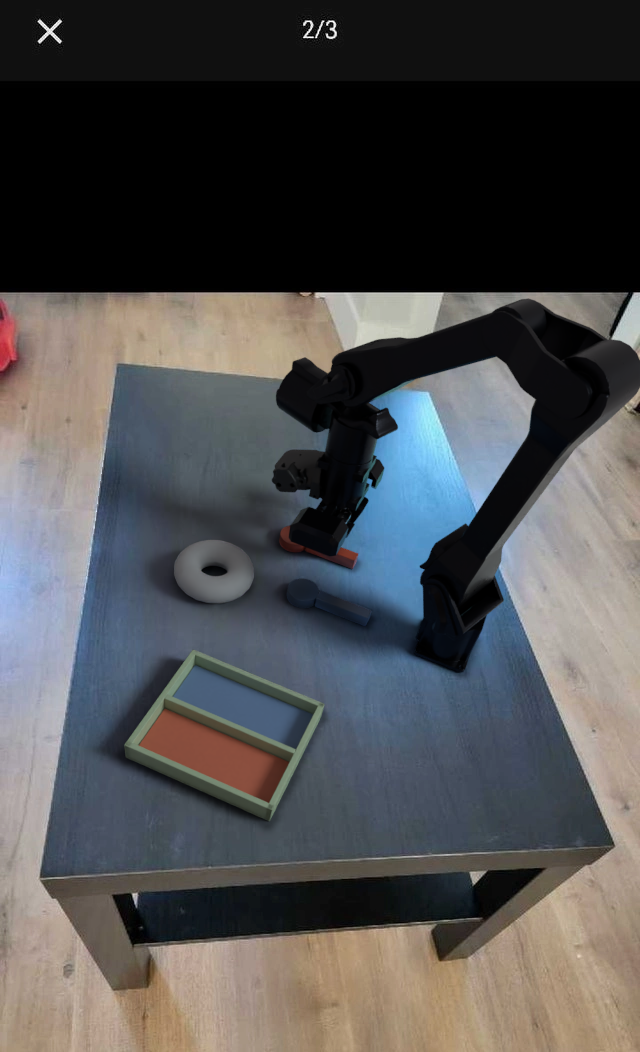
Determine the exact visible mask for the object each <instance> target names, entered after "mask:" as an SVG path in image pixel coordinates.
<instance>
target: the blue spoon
mask: <svg viewBox="0 0 640 1052" xmlns="http://www.w3.org/2000/svg"><path fill="white" fill-rule="evenodd" d="M287 585H288V586H287V590H286V599H287V601H288V603H289V604H290V605H292V606H293V607H296V608H299V609H309V608H312V607H315V608H317V609H320V610H323V611H325V612H328V613H330V614H333V615H335V616H337V617H341V618H343V619H345V620H348V621H351V622H353V623H356V624H358V625H361V626H363V627H366V626H367V624H368V623H369V621H370V618H371V615H372V609H369V608H367V607H364V606H362V605H359V604H358V603H354V602H352V601H349V600H347V599H344V598H341V597H338V596H336V595H334V594H331V593H329V592H326V591H323V590H320V589H319V586H318V584H317V583H316V582H314V581H312V580H311V579H308V578H302V577H301V578H295V579H293V580H291V581H290V582H289V583H288V584H287Z"/></svg>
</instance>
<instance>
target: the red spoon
mask: <svg viewBox="0 0 640 1052" xmlns="http://www.w3.org/2000/svg"><path fill="white" fill-rule="evenodd" d="M289 530H290V525H287V526H284V527H283V528H281V530H280V533H279V540H278V541H279V545H280V546H281V548H282V549H283V550H285V551H288V552H290V553H301V552H303V551H305V552H306V553H309V554H312V555H314V556H316V557H320V558H323V559H325V560H327V561H330V562H333V563H335V564H338V565H341V566H343V567H346V568H348V569H351V570H353V569H354V567H355V566H356V565H357V561H358V558H359V553H358V552H355V551H353V550H350V549H347V548H344V547H342V546H341V548H340V550H339V551H338V553H337V555H336V556H327V555H325V554H322V553H319V552H317V551H314V550H312V549H309V548H306V547H304V546H301V545H299V544H296V543H293V542H291V541H290V539H289Z"/></svg>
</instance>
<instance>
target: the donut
mask: <svg viewBox="0 0 640 1052" xmlns="http://www.w3.org/2000/svg"><path fill="white" fill-rule="evenodd" d="M206 567H219V568H222V569H224V570H225V571H226V573H224V574H222V575H210V574H207V573H204V572H203V571H202V570H203V569H205V568H206ZM173 568H174V570H173V575H174V578H175V581H176V583H177V586H178V587H179V588H180V589H181V590H182V592H183V593H185V595H187V596H189V597H191V598H193V599H194V600H196V601H199V602H203V603H207V604H224V603H225V604H226V603H229V602H233V601H235V600H237V599H239V598H241V597H243V595H244V594H245V593H247V592H248V591H249V589H250V588H251V586H252V583H253V581H254V578H255V567H254V564H253V562H252V560H251V558H250V556H249V554H248V553H246V552H245V550H243V549H242V548H241V547H239V546H237V545H235V544H233V543H232V542H228V541H224V540H220V539H206V540H200V541H196V542H194V543H192V544H189V545H187V546H186V547H185V548H183V550H181V551H180V552H179V554H178V556H177V558H176V559H175V561H174V566H173Z"/></svg>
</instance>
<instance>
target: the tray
mask: <svg viewBox="0 0 640 1052" xmlns="http://www.w3.org/2000/svg"><path fill="white" fill-rule="evenodd" d="M324 708H325V703H324V702H321V701H319V700H316V699H314V698H311V697H309V696H306V695H305V694H302V693H299V692H297V691H295V690H292V689H289V688H288V687H285V686H283V685H280V684H278V683H275V682H272V681H270V680H268V679H265V678H263V677H260V676H258V675H256V674H253V673H251V672H249V671H246V670H244V669H242V668H239V667H237V666H234V665H232V664H231V663H230V664H229V663H227V662H224V661H222V660H220V659H217V658H215V657H214V656H213V657H212V656H211V655H208V654H206V653H204V652H201V651H198V650H195V649H191V651H190V652H189V654H188V655H187V657H186V658H185V659H184V661H183V662H182V664H181V665H180V667H179V668H178V669H177V671H176V672H175V673H174V675H173V676H172V677H171V679H170V681H169V682H168V683H167V685H166V686H165V687H164V689H163V690H162V692H161V693H160V694H159V696H158V697H157V699H156V700H155V701H154V703H153V704H152V705H151V707H150V708H149V710H148V711H147V713H146V714H145V715H144V716H143V718H142V719H141V721H140V722H139V724H138V725H137V726H136V728H135V729H134V731H133V732H132V734H131V735H130V736H129V738H128V739H127V740H126V742H125V743H124V745H123V746H124V753H125V754H124V755H125V758H126V759H128V760H130V761H132V762H135V763H138V764H139V765H141V766H145V767H146V768H149V769H151V770H153V771H155V772H157V773H159V774H162V775H165V776H167V777H168V778H171V779H173V780H175V781H178V782H180V783H182V784H184V785H187V786H189V787H191V788H193V789H196V790H198V791H200V792H202V793H204V794H207V795H209V796H212V797H214V798H216V799H218V800H220V801H222V802H224V803H227V804H229V805H232V806H234V807H236V808H238V809H240V810H243V811H245V812H246V813H249V814H252V815H254V816H256V817H258V818H261V819H263V820H265V821H267V822H271V820H272V817H273V816H274V814H275V812H276V810H277V808H278V805H279V804H280V801H281V800H282V797H283V795H284V793H285V792H286V789H287V787H288V785H289V783H290V781H291V779H292V777H293V775H294V773H295V771H296V769H297V766H298V765H299V763H300V761H301V759H302V757H303V755H304V753H305V751H306V749H307V747H308V744H309V742H310V741H311V739H312V737H313V734H314V732H315V730H316V728H317V727H318V724H319V722H320V720H321V718H322V716H323V712H324Z"/></svg>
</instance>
